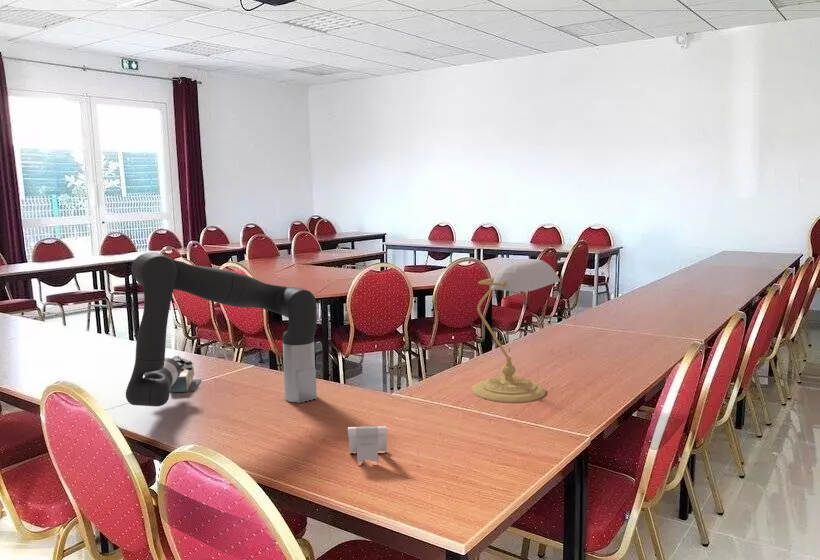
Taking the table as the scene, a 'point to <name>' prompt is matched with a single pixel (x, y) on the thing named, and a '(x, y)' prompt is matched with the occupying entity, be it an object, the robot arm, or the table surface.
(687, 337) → the table surface
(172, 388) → the birch block
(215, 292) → the robot arm
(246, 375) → the table surface
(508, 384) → the desk lamp
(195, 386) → the gray rectangular block
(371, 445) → the portable electronic device stand
